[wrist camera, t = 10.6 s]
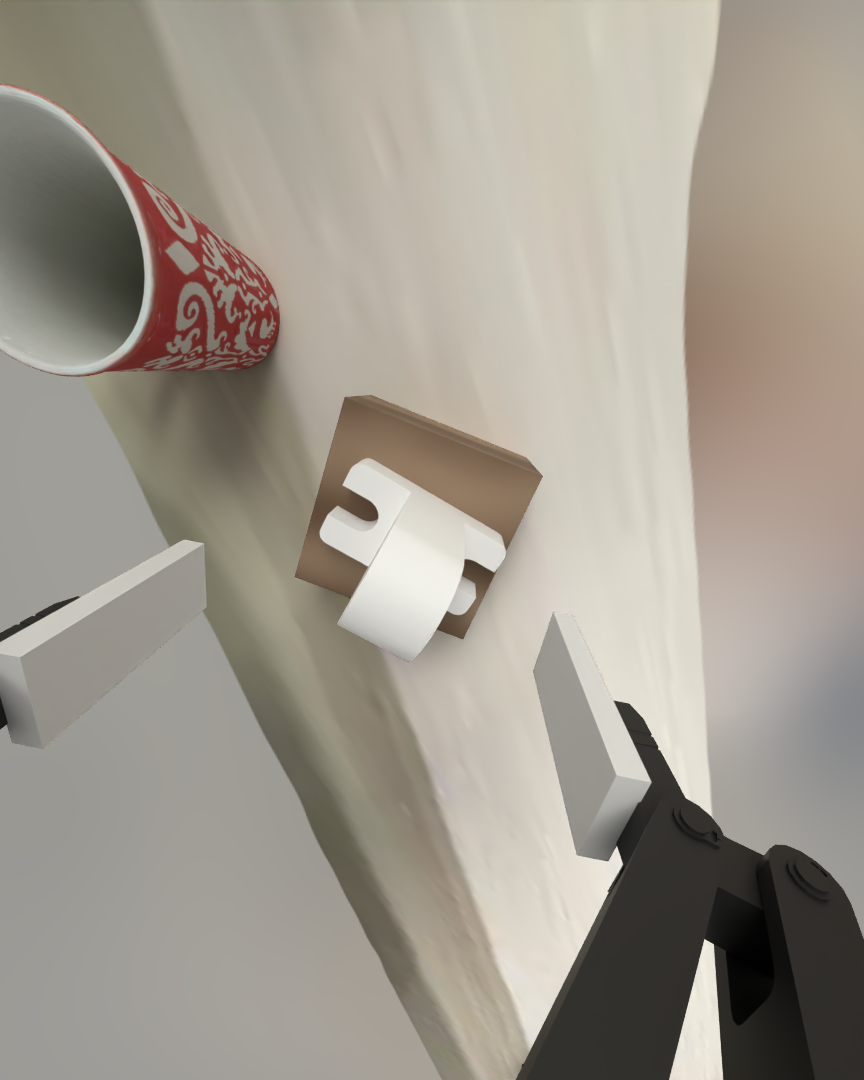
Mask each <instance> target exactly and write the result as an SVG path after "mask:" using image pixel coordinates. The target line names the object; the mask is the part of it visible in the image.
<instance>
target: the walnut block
mask: <svg viewBox="0 0 864 1080" xmlns="http://www.w3.org/2000/svg"><path fill="white" fill-rule="evenodd" d="M366 458H370V459H373V460H375V461H376V462H378V463H380V464H381V465H383V466H385V467H387V468H388V469H390V470H392V471H393V472H395V473H397V474H398V475H400V476H402V477H404V478H405V479H407V480H409V481H410V482H412V483H414V484H416V485H417V486H419V487H421V488H422V489H424V490H426V491H428V492H429V493H431V494H433V495H434V496H436V497H438V498H440V499H441V500H443V501H445V502H446V503H448V504H450V505H452V506H453V507H455V508H457V509H458V510H460V511H462V512H464V513H465V514H467V515H469V516H470V517H472V518H474V519H475V520H477V521H479V522H481V523H482V524H484V525H486V526H487V527H489V528H491V529H493V530H494V531H496V532H498V533H499V534H500V535H501V536H502V539H503V542H504V546H505V550H507V548H508V546H509V544H510V542H511V540H512V538H513V536H514V534H515V532H516V530H517V528H518V526H519V524H520V522H521V520H522V518H523V516H524V513H525V511H526V509H527V507H528V505H529V503H530V501H531V499H532V497H533V495H534V493H535V491H536V489H537V487H538V485H539V483H540V481H541V479H542V477H543V476H542V475H541V474H540V473H539V471H538V470H537V469H536V468H535V467H534V466H533V465H532V464H531V462H530V461H529V460H528V459H527V458H526V457H524V456H521V455H519V454H516V453H514V452H511V451H509V450H506V449H504V448H501V447H499V446H496V445H494V444H491V443H489V442H486V441H484V440H481V439H479V438H476V437H474V436H471V435H469V434H466V433H464V432H461V431H459V430H456V429H454V428H451V427H449V426H446V425H444V424H441V423H439V422H436V421H434V420H431V419H429V418H426V417H424V416H421V415H419V414H417V413H414V412H412V411H409V410H407V409H404V408H402V407H399V406H397V405H394V404H392V403H389V402H387V401H384V400H382V399H379V398H377V397H374V396H372V395H367V396H353V397H345V398H344V402H343V405H342V409H341V413H340V416H339V420H338V423H337V427H336V430H335V434H334V438H333V441H332V445H331V448H330V452H329V456H328V459H327V463H326V466H325V470H324V473H323V477H322V481H321V484H320V488H319V491H318V495H317V498H316V502H315V506H314V509H313V513H312V516H311V520H310V524H309V527H308V531H307V534H306V538H305V541H304V545H303V549H302V552H301V556H300V559H299V563H298V567H297V570H296V574H295V577H296V578H299V579H301V580H304V581H307V582H310V583H312V584H315V585H318V586H320V587H323V588H326V589H328V590H331V591H334V592H337V593H339V594H342V595H345V596H347V597H350V598H351V597H352V595H353V594H354V592H355V590H356V588H357V586H358V585H359V583H360V581H361V579H362V577H363V575H364V574H365V572H366V570H367V568H368V566H366V565H364V564H363V563H361V562H359V561H357V560H355V559H354V558H352V557H350V556H348V555H346V554H344V553H343V552H341V551H339V550H337V549H335V548H334V547H332V546H330V545H328V544H326V543H325V542H324V541H323V540H322V539H321V537H320V529H321V527H322V525H323V523H324V521H325V519H326V517H327V515H328V514H329V513H330V512H331V511H332V510H333V509H334V508H335V507H337V506H339V507H341V508H342V509H344V510H346V511H348V512H349V513H351V514H353V515H355V516H357V517H358V518H360V519H362V520H364V521H375V520H377V519H378V511H377V508H376V506H375V505H374V504H373V503H372V502H371V501H369V500H368V499H366V498H364V497H362V496H361V495H359V494H357V493H355V492H354V491H352V490H350V489H348V488H347V487H345V486H343V483H344V481H345V479H346V477H347V475H348V473H349V471H350V469H351V468H352V467H353V466H354V465H355V464H357V463H358V462H360V461H361V460H363V459H366ZM497 569H498V568H497ZM496 571H497V570H496ZM496 571H495V572H493V571H491V570H489V569H487V568H486V567H484V566H482V565H480V564H479V563H477V562H475V561H473V560H469V559H464V568H463V572H462V575H461V576H463V577H465V578H466V579H468V580H470V581H472V582H474V583H475V589H476V599H475V600H474V602H473V603H472V605H471V606H470V607H469V609H468V610H467V611H466V612H465V613H464V614H462V615H454V614H452V613H450V612H448V611H446V613H445V615H444V617H443V619H442V620H441V622H440V624H439V626H438V627H437V630H439V631H442V632H445V633H447V634H450V635H453V636H456V637H458V638H461V639H463V638H464V636H465V634H466V632H467V630H468V628H469V626H470V624H471V622H472V620H473V618H474V616H475V614H476V612H477V610H478V607H479V605H480V603H481V601H482V599H483V597H484V595H485V593H486V591H487V589H488V587H489V585H490V583H491V581H492V579H493V577H494V575H495V573H496Z"/></svg>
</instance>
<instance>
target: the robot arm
mask: <svg viewBox="0 0 864 1080" xmlns="http://www.w3.org/2000/svg"><path fill="white" fill-rule="evenodd" d="M206 607H207V605H206V578H205V551H204V543H199V542H194V541H189V540H182V541H180V542H179V543H177V544H175V545H173V546H171V547H170V548H168V549H166V550H164V551H163V552H161V553H159V554H157V555H155V556H154V557H152V558H150V559H148V560H146V561H145V562H143V563H141V564H139V565H138V566H136V567H134V568H132V569H130V570H129V571H127V572H125V573H123V574H121V575H120V576H118V577H116V578H114V579H112V580H111V581H109V582H107V583H105V584H104V585H102V586H100V587H98V588H96V589H94V590H93V591H91V592H89V593H87V594H86V595H84V596H82V597H78V596H77V597H74V598H71V599H68V600H65V601H62V602H59V603H56V604H53V605H51V606H50V607H48V608H46V609H44V610H42V611H40V612H38V613H37V614H36V615H35V616H31V617H29V618H27V619H25V620H24V621H22V622H20V624H19V625H14V626H12V627H11V628H9V629H7V630H5V631H3V632H1V633H0V729H1V728H3V727H4V726H5V725H7V727H8V730H9V734H10V737H11V741H12V743H16V744H20V745H25V746H30V747H35V748H40V749H43V748H45V747H46V746H47V745H48V744H49V743H50V742H51V741H53V740H54V739H55V738H56V737H57V736H59V735H60V734H61V733H62V732H63V731H64V730H65V729H67V728H68V727H69V726H70V725H71V724H72V723H74V722H75V721H76V720H77V719H78V718H79V717H80V716H81V715H83V714H84V713H85V712H86V711H87V710H89V709H90V708H91V707H92V706H93V705H94V704H95V703H96V702H98V701H99V700H100V699H101V698H102V697H103V696H105V695H106V694H107V693H108V692H109V691H110V690H111V689H113V688H114V687H115V686H116V685H117V684H118V683H120V682H121V681H122V680H123V679H124V678H125V677H126V676H127V675H129V674H130V673H131V672H132V671H133V670H135V669H136V668H137V667H138V666H139V665H140V664H141V663H143V662H144V661H145V660H146V659H147V658H148V657H149V656H150V655H152V654H153V653H154V652H155V651H156V650H157V649H159V648H160V647H161V646H162V645H163V644H164V643H166V642H167V641H168V640H169V639H170V638H171V637H173V636H174V635H175V634H176V633H177V632H178V631H179V630H181V629H182V628H183V627H184V626H185V625H186V624H187V623H189V622H190V621H191V620H192V619H193V618H194V617H195V616H197V615H198V614H199V613H200V612H201V611H202V610H204V609H205V608H206ZM533 673H534V677H535V681H536V685H537V689H538V694H539V698H540V702H541V706H542V711H543V715H544V719H545V723H546V727H547V732H548V736H549V740H550V744H551V749H552V753H553V757H554V761H555V765H556V770H557V774H558V778H559V782H560V786H561V791H562V795H563V799H564V803H565V808H566V812H567V816H568V820H569V824H570V829H571V833H572V837H573V841H574V846H575V850H576V854H577V855H578V856H583V857H589V858H594V859H599V860H604V861H609V859H610V857H611V855H612V853H613V852H614V850H615V848H616V846H617V847H618V850H619V853H620V856H621V859H622V862H623V866H622V867H621V869H620V871H619V873H618V874H617V876H616V878H615V880H614V881H613V883H612V885H611V887H610V888H609V890H608V892H609V893H608V895H607V897H606V899H605V901H604V903H603V905H602V907H601V909H600V911H599V913H598V915H597V917H596V919H595V921H594V923H593V925H592V927H591V929H590V931H589V933H588V935H587V937H586V939H585V941H584V943H583V945H582V947H581V949H580V951H579V954H578V956H577V958H576V960H575V962H574V964H573V966H572V968H571V970H570V972H569V974H568V976H567V978H566V980H565V982H564V984H563V986H562V988H561V990H560V992H559V994H558V996H557V998H556V1000H555V1002H554V1004H553V1006H552V1008H551V1010H550V1012H549V1014H548V1016H547V1018H546V1020H545V1022H544V1024H543V1026H542V1028H541V1030H540V1032H539V1034H538V1036H537V1038H536V1040H535V1042H534V1044H533V1046H532V1048H531V1050H530V1052H529V1054H528V1056H527V1058H526V1060H525V1062H524V1064H523V1066H522V1068H521V1070H520V1073H519V1075H518V1077H517V1079H516V1080H669V1077H670V1073H671V1069H672V1065H673V1061H674V1058H675V1054H676V1050H677V1046H678V1042H679V1038H680V1034H681V1030H682V1026H683V1022H684V1018H685V1014H686V1010H687V1006H688V1002H689V998H690V994H691V990H692V986H693V982H694V978H695V974H696V970H697V966H698V962H699V958H700V954H701V950H702V946H703V942H704V939H705V940H707V941H709V942H711V943H713V944H714V953H715V967H716V981H717V996H718V1010H719V1025H720V1039H721V1053H722V1068H723V1080H864V939H863V936H862V933H861V930H860V928H859V925H858V922H857V919H856V917H855V914H854V911H853V908H852V905H851V903H850V901H849V899H848V897H847V896H846V894H845V892H844V890H843V889H842V887H841V886H840V885H839V884H838V883H837V882H836V881H835V879H834V878H833V877H832V876H831V874H830V873H828V872H827V871H826V870H825V869H824V868H823V867H822V866H820V865H819V864H818V863H817V862H816V861H814V860H813V859H812V858H810V857H808V856H807V855H805V854H804V853H802V852H801V851H798V850H796V849H794V848H791V847H789V846H786V845H775V846H773V847H772V848H770V849H769V850H768V851H767V853H766V854H765V855H761V854H759V853H757V852H755V851H753V850H751V849H749V848H747V847H745V846H743V845H741V844H738V843H736V842H734V841H732V840H730V839H728V838H727V837H725V836H724V835H723V833H722V831H721V829H720V827H719V826H718V825H717V823H716V822H715V821H714V820H713V818H712V817H711V816H710V815H709V814H708V813H706V812H705V811H704V810H703V809H702V808H701V807H699V806H698V805H696V804H695V803H693V802H691V801H689V800H688V799H686V798H685V796H684V794H683V793H682V791H681V789H680V787H679V785H678V783H677V781H676V779H675V777H674V776H673V774H672V772H671V770H670V768H669V766H668V764H667V762H666V761H665V759H664V757H663V755H662V753H661V751H660V750H658V745H657V744H656V742H655V740H654V738H653V737H651V732H650V730H649V728H648V727H647V725H646V723H645V721H644V719H643V718H642V717H641V716H640V715H639V714H638V713H637V711H636V710H635V709H634V708H633V707H632V706H631V705H630V704H628V703H623V702H618V701H613V699H612V697H611V694H610V692H609V690H608V688H607V686H606V684H605V682H604V679H603V677H602V675H601V673H600V671H599V669H598V667H597V664H596V662H595V660H594V658H593V656H592V654H591V652H590V649H589V647H588V645H587V643H586V641H585V639H584V637H583V634H582V632H581V630H580V628H579V626H578V624H577V622H576V619H575V617H574V616H572V615H567V614H562V613H556V612H553V614H552V617H551V620H550V623H549V626H548V629H547V632H546V635H545V638H544V641H543V644H542V647H541V650H540V653H539V655H538V658H537V661H536V664H535V667H534V670H533Z"/></svg>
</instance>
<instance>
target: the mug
mask: <svg viewBox="0 0 864 1080" xmlns="http://www.w3.org/2000/svg"><path fill="white" fill-rule="evenodd" d="M278 330H279V308H278V302H277V299H276V296H275V293H274V290H273V288H272V286H271V284H270V282H269V281H268V279H267V277H266V276H265V274H264V273H263V272H262V271H261V269H260V268H259V267H258V266H257V265H256V264H255V263H254V262H252V261H251V260H250V259H249V258H248V257H246V256H245V255H244V254H242V253H241V252H240V251H238V250H237V249H235V248H234V247H233V246H231V245H230V244H229V243H227V242H226V241H225V240H223V239H222V238H221V237H219V236H218V235H217V234H215V233H214V232H213V231H212V230H210V229H209V228H208V227H207V226H205V225H204V224H203V223H201V222H200V221H199V220H198V219H196V218H195V217H194V216H192V215H191V214H190V213H189V212H187V211H186V210H185V209H183V208H182V207H181V206H179V205H178V204H177V203H175V202H174V201H173V200H172V199H170V198H169V197H168V196H167V195H166V194H164V193H163V192H162V191H160V190H159V189H158V188H157V187H155V186H154V185H153V184H151V183H150V182H149V181H147V180H146V179H145V178H143V177H142V176H141V175H139V174H138V173H137V172H135V171H134V170H133V169H131V168H130V167H129V166H127V165H126V164H125V163H123V162H122V161H121V160H119V159H118V158H117V157H115V156H114V155H113V154H112V153H110V152H109V151H108V150H107V149H106V147H105V146H104V145H103V144H102V143H101V142H100V141H99V140H98V138H97V137H96V136H95V135H94V134H93V133H92V132H91V131H90V130H89V129H88V128H87V127H86V126H85V125H84V124H83V123H81V122H80V121H79V120H78V119H77V118H76V117H75V116H73V115H72V114H70V113H69V112H68V111H66V110H65V109H64V108H62V107H61V106H59V105H57V104H56V103H54V102H53V101H51V100H49V99H47V98H45V97H43V96H41V95H39V94H37V93H34V92H32V91H29V90H26V89H23V88H19V87H16V86H12V85H7V84H0V350H1V351H3V352H4V353H6V354H7V355H9V356H10V357H12V358H14V359H16V360H18V361H19V362H22V363H24V364H26V365H28V366H30V367H32V368H35V369H38V370H40V371H44V372H47V373H51V374H56V375H61V376H77V377H80V376H90V375H95V374H99V373H102V372H108V371H173V370H174V371H178V370H189V371H195V370H239V369H245V368H249V367H251V366H254V365H256V364H257V363H259V362H260V361H261V360H263V359H264V358H265V357H266V356H267V355H268V353H269V352H270V351H271V349H272V348H273V346H274V343H275V341H276V338H277V334H278Z"/></svg>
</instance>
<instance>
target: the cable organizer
mask: <svg viewBox="0 0 864 1080" xmlns="http://www.w3.org/2000/svg"><path fill="white" fill-rule="evenodd" d="M343 486H345V487H347V488H348V489H350V490H352V491H354V492H355V493H357V494H359V495H361V496H362V497H364V498H366V499H368V500H369V501H371V502H372V503H373V504H374V505H375V506H376V508H377V511H378V519H377V520H375V521H364V520H362V519H360V518H358V517H357V516H355V515H353V514H351V513H349V512H348V511H346V510H344V509H342V508H341V507H339V506H337V507H335V508H334V509H333V510H332V511H331V512H330V513H329V514H328V515H327V517H326V519H325V521H324V523H323V525H322V527H321V529H320V537H321V539H322V540H323V541H324V542H325V543H326V544H328V545H330V546H332V547H334V548H335V549H337V550H339V551H341V552H343V553H344V554H346V555H348V556H350V557H352V558H354V559H355V560H357V561H359V562H361V563H363V564H364V565H366V566H368V568H367V570H366V572H365V574H364V575H363V577H362V579H361V581H360V583H359V585H358V586H357V588H356V590H355V592H354V594H353V595H352V597H351V599H350V601H349V603H348V605H347V606H346V608H345V610H344V612H343V614H342V615H341V617H340V619H339V621H338V623H337V625H339V626H340V627H342V628H344V629H346V630H348V631H350V632H352V633H354V634H356V635H358V636H359V637H361V638H363V639H365V640H367V641H369V642H371V643H373V644H375V645H376V646H378V647H380V648H382V649H384V650H386V651H388V652H390V653H392V654H394V655H395V656H397V657H399V658H401V659H403V660H405V661H407V662H409V661H411V660H413V659H414V658H415V657H416V656H417V655H418V654H419V653H420V652H421V651H422V649H423V648H424V647H425V645H426V644H427V643H428V641H429V640H430V638H431V637H432V635H433V634H434V632H435V631H436V629H437V627H438V626H439V624H440V622H441V620H442V619H443V617H444V615H445V613H446V611H448V612H450V613H452V614H454V615H462V614H464V613H465V612H466V611H467V610H468V609H469V607H470V606H471V605H472V603H473V602H474V600H475V599H476V589H475V583H474V582H472V581H470V580H468V579H466V578H465V577H463V576H461V575H462V572H463V568H464V559H469V560H473V561H475V562H477V563H479V564H480V565H482V566H484V567H486V568H487V569H489V570H491V571H493V572H495V571H496V570H497V568H498V567H499V565H500V564H501V563H502V561H503V560H504V558H505V556H506V550H505V546H504V542H503V539H502V536H501V535H500V534H499V533H498V532H496V531H494V530H493V529H491V528H489V527H487V526H486V525H484V524H482V523H481V522H479V521H477V520H475V519H474V518H472V517H470V516H469V515H467V514H465V513H464V512H462V511H460V510H458V509H457V508H455V507H453V506H452V505H450V504H448V503H446V502H445V501H443V500H441V499H440V498H438V497H436V496H434V495H433V494H431V493H429V492H428V491H426V490H424V489H422V488H421V487H419V486H417V485H416V484H414V483H412V482H410V481H409V480H407V479H405V478H404V477H402V476H400V475H398V474H397V473H395V472H393V471H392V470H390V469H388V468H387V467H385V466H383V465H381V464H380V463H378V462H376V461H375V460H373V459H370V458H366V459H363V460H361V461H360V462H358V463H357V464H355V465H354V466H353V467H352V468H351V469H350V471H349V473H348V475H347V477H346V479H345V481H344V483H343Z"/></svg>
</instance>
